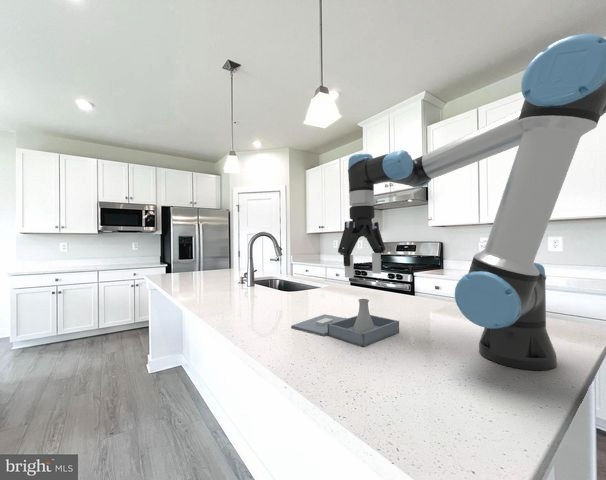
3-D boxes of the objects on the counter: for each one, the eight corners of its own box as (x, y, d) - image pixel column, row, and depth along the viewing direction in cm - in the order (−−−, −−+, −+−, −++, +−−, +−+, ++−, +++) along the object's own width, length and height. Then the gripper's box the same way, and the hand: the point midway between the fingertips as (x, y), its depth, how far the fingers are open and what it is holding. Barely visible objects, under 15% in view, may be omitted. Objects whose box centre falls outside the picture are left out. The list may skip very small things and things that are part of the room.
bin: (399, 332, 91) (399, 321, 91) (363, 347, 79) (362, 334, 79) (364, 323, 101) (364, 313, 101) (327, 335, 89) (327, 324, 89)
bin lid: (355, 322, 103) (355, 317, 103) (324, 336, 89) (324, 331, 89) (324, 316, 112) (324, 312, 112) (291, 328, 98) (291, 323, 98)
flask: (374, 328, 94) (374, 297, 93) (378, 336, 86) (377, 302, 86) (351, 328, 94) (351, 297, 94) (353, 335, 87) (352, 302, 87)
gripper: (375, 209, 101) (377, 271, 101) (324, 204, 85) (326, 278, 85) (394, 207, 96) (396, 272, 96) (344, 201, 79) (346, 280, 79)
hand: (363, 275), depth 90 cm, fingers open, 13 cm apart
